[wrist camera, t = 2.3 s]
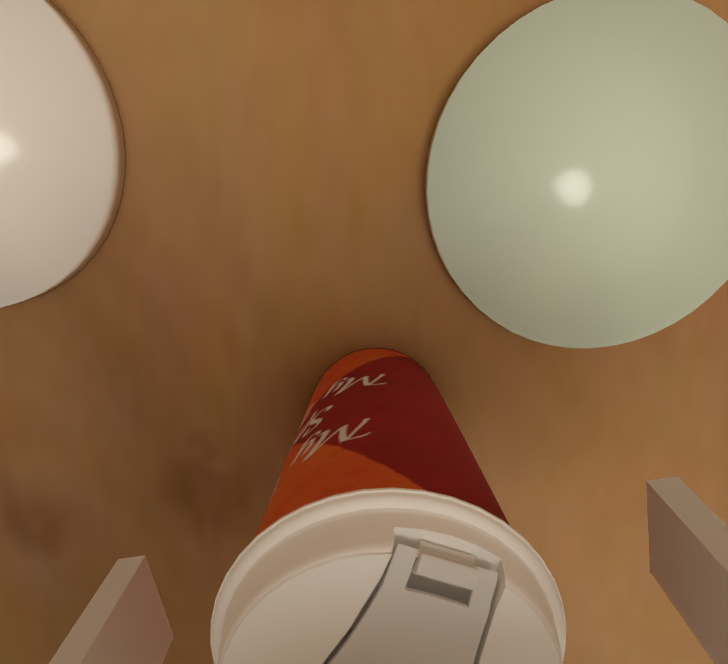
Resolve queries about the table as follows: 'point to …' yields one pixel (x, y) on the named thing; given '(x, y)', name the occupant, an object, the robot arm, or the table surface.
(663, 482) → the robot arm
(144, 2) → the table surface
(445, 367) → the table surface
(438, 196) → the sage dish
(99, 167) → the white dish
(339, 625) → the paper cup
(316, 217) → the table surface
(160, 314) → the table surface
